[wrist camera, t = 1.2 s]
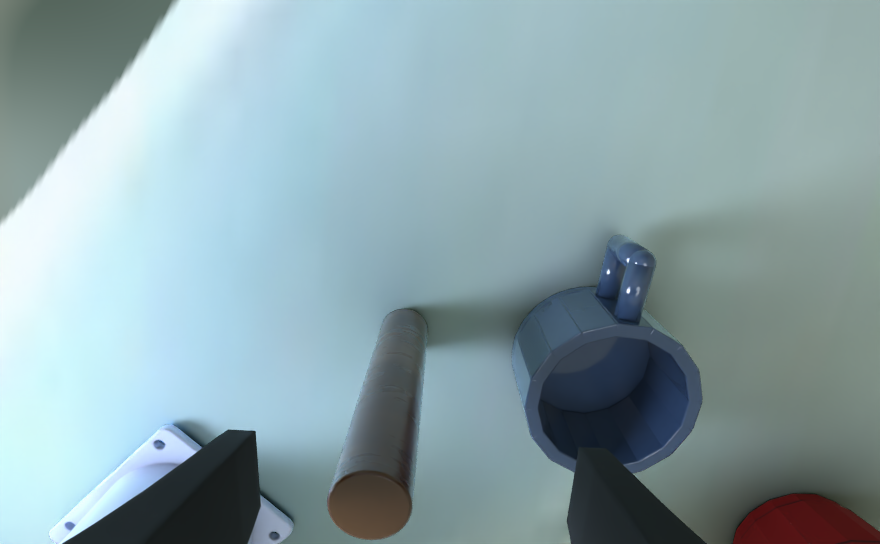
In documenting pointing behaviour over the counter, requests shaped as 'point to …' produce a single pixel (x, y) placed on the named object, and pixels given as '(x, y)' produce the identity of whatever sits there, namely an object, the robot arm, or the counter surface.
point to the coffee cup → (606, 369)
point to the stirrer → (383, 435)
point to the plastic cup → (804, 523)
